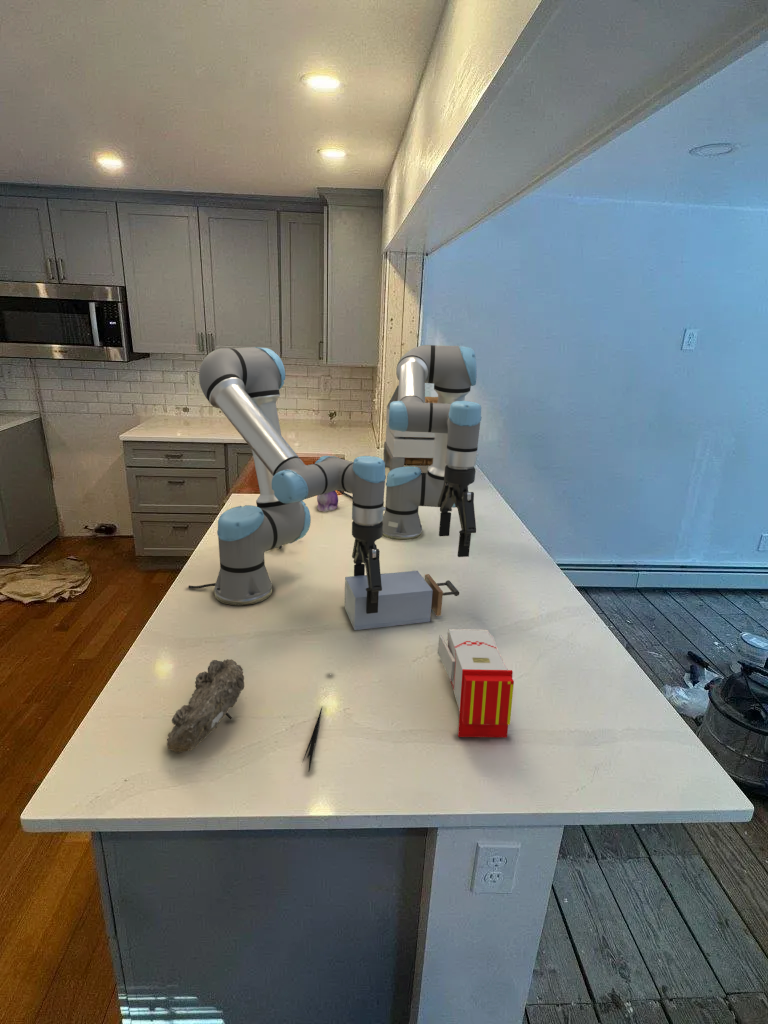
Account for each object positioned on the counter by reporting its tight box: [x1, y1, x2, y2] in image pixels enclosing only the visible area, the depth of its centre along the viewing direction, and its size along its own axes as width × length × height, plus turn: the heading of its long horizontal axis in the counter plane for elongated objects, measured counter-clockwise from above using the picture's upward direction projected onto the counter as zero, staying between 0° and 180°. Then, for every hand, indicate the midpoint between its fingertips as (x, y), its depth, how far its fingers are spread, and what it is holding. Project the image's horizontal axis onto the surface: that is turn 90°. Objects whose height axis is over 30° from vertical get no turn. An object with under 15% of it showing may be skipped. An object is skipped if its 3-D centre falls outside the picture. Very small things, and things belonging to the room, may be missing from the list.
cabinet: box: [344, 570, 433, 631], centre depth 146 cm, size 20×12×9 cm, turn 106°
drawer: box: [424, 573, 460, 617], centre depth 147 cm, size 24×10×7 cm, turn 106°
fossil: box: [166, 658, 245, 754], centre depth 106 cm, size 22×10×15 cm
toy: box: [437, 628, 515, 738], centre depth 117 cm, size 12×13×30 cm
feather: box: [301, 673, 332, 771], centre depth 108 cm, size 2×28×2 cm
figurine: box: [316, 490, 339, 512], centre depth 219 cm, size 9×10×15 cm
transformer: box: [383, 384, 438, 472], centre depth 268 cm, size 34×33×41 cm
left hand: (365, 599), depth 144 cm, fingers open, 13 cm apart
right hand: (453, 545), depth 146 cm, fingers open, 13 cm apart
